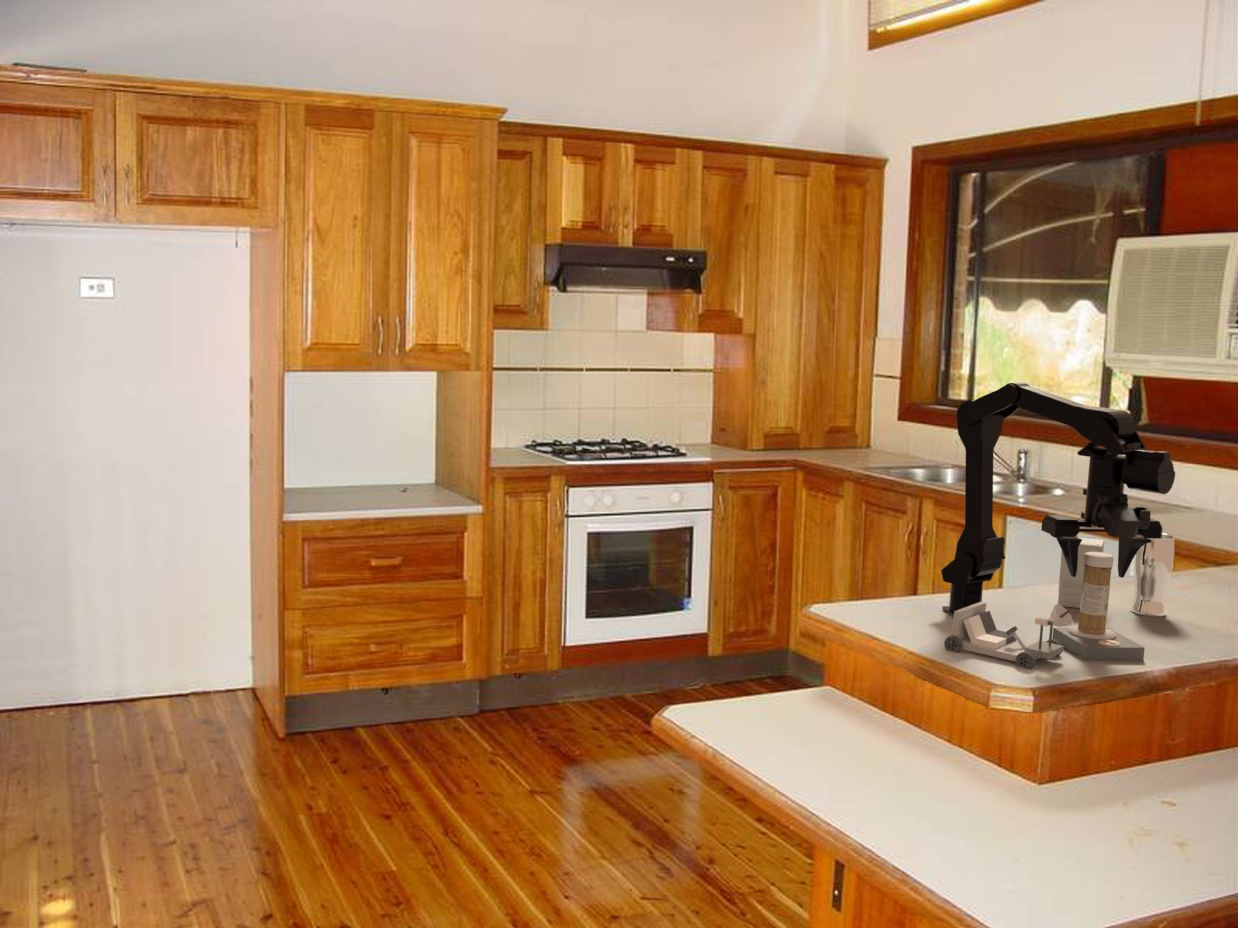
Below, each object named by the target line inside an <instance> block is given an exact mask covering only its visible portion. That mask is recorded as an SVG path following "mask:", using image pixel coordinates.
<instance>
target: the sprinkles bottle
mask: <svg viewBox="0 0 1238 928" xmlns="http://www.w3.org/2000/svg"><path fill="white" fill-rule="evenodd" d="M1084 564H1085V565H1084V566H1085V569H1084V577H1083V586H1082V594H1081V602H1080V608H1079V617H1078V625H1077V626H1078V629H1079V630H1080V631H1082V632H1086V633H1090V634H1103V633H1105V632H1106V629H1105V628H1106V622H1107V614H1108V608H1109V599H1110V592H1111V591H1110V589H1111V575H1112V570H1113V565H1114V556H1113V554H1110V553H1107V552H1103V553H1102V552H1087V553H1085V557H1084Z"/></svg>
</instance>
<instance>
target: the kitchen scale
mask: <svg viewBox="0 0 1238 928" xmlns="http://www.w3.org/2000/svg"><path fill="white" fill-rule="evenodd" d="M1105 629H1106V632H1105V633H1103V634H1090V633H1086V632H1082V631H1080V630H1079V629H1078V625H1074V626H1072V625H1071V626H1070V627H1057V626H1053V630H1052V639H1054V640H1057V641H1058V642H1059V643H1060V644H1061V645H1062V646H1064V648H1065V649H1066V648H1067V649H1066V650H1068V649H1069V650H1070V651H1069V650H1068V651H1069V652H1071V651H1072V652H1071V653H1073V654H1074V653H1075V655H1076V656H1077V655H1078V656H1077V657H1078V658H1081V659H1082V660H1083V661H1108V662H1109V661H1115V662H1116V661H1121V662H1122V661H1125V662H1126V661H1129V662H1130V661H1132V662H1133V661H1134V662H1135V661H1137V662H1138V661H1139V662H1141V661H1144V658H1145V649H1146V647H1144V646H1143V645H1141V644H1139V643H1137V642H1135V641H1133V640H1132V639H1130V638H1128V637H1126V636H1124V635H1123V634H1121V633H1119V632H1117V631H1115V630H1114V629H1111V628H1109V627H1105Z"/></svg>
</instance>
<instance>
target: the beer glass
mask: <svg viewBox="0 0 1238 928" xmlns="http://www.w3.org/2000/svg"><path fill="white" fill-rule="evenodd" d="M1148 539H1150V540H1152V542H1151V543H1146V544H1145V545H1143V546H1142V547H1141V548H1140V549H1139V550H1138V551H1137V553H1136V554H1135V556H1134V558H1133V560H1132V563H1133V576H1134V586H1135V587H1134V598H1133V602H1132V605H1131V608H1130V611H1131V612H1132V613H1133V612H1134V614H1135V615H1136V614H1137V615H1139V614H1140V616H1145V617H1152V618H1153V617H1155V618H1157V617H1158V618H1159V617H1165V616H1166V614H1167V611H1166V592H1167V589H1168V585H1169V582H1170V579H1171V574H1172V571H1173V567H1174V560H1175V536H1174V535H1172V534H1167V533H1163V532H1162V538H1161V539H1158V538H1148Z"/></svg>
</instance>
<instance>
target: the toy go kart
mask: <svg viewBox="0 0 1238 928" xmlns="http://www.w3.org/2000/svg"><path fill="white" fill-rule="evenodd" d="M1071 612H1072V609H1070V608H1069V609H1066V607H1065V606H1061V605H1058V603H1057V604H1054V607H1053V609H1052V610H1051V613H1050V617H1049V618H1046V617H1042V616H1036V617H1034V624H1035V625H1038V626H1040V627H1039V640H1038V641H1035V642H1034V641H1030V640H1026V639H1021V638H1020V636H1018V635H1017V633H1016V631H1017V630H1018V629H1019V628H1018V627H1017V626H1016V625H1014V626H1012V627H1011V628H1009V629H1008V630H1006V631H1005V630H1004V631H1003V630H999V629H997V627H996V623H995V622H994V618H993V616H992V613H991V611H990V610H988V611H987V602H985V601H982V602H979V603H976V604H973V605H970V606H968V607H965V608H962V609H959V610H957V611H954V617H953V620H952V622H953V623H952V633H951V635H950V636H947V637H946V638H945V639H944V642H943V647H944V649H945V650H946V651H947V652H951V651H952V652H951V653H957V654H959V653H961V651H962V650H965V651H969V652H973V653H978V654H982V655H986V656H991V657H994V658H998V659H1004V660H1007V661H1013V662H1015V664H1016V666H1017V668H1019V669H1025V670H1030V671H1031V670H1032V669H1034V668H1035V666H1036V660H1039V659H1040V658H1042V659H1047V660H1049V659H1051V658H1053V657H1055V658H1056V657H1057V656H1058V657H1059V656H1061V654H1062V653H1063V652H1064V648H1065V647H1064V646H1062V645H1061V644H1060V643H1059V642H1058V641H1057V640H1054V639H1052V638H1053V627H1057V628H1063V627H1069V626H1072V625H1073V624H1074V620H1073V618H1072V616H1071V614H1070V613H1071ZM1044 627H1049V634H1048V635H1049V638H1048V640H1046V641H1043V634H1044V633H1043V632H1044ZM1058 657H1057V658H1058Z"/></svg>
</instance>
